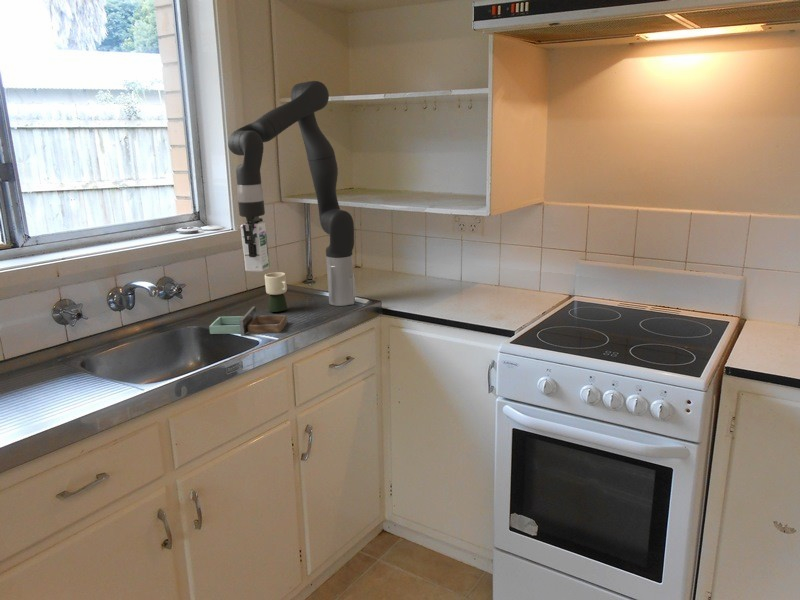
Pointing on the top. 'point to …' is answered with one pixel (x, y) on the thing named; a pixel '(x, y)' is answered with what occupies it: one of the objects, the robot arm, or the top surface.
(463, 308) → the top surface
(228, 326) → the tray
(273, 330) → the brown wooden tray
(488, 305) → the top surface
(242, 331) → the door edge plate
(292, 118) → the robot arm
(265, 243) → the syrup box
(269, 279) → the character mug
